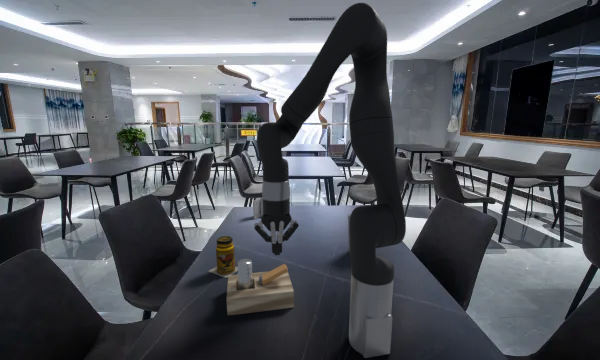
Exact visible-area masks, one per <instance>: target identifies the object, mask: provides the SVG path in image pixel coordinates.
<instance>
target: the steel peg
mask: <svg viewBox="0 0 600 360" xmlns="http://www.w3.org/2000/svg"><path fill="white" fill-rule="evenodd" d="M237 267H238V271H237V275H238V287H239V290H245V289H253V280H252V273H253V261H252V259H249V258H241V259H239V260H238V261H237Z"/></svg>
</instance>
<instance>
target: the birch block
mask: <svg viewBox="0 0 600 360" xmlns="http://www.w3.org/2000/svg"><path fill="white" fill-rule="evenodd" d="M270 271H271V270H269V271H259V272H252V280H253V289H245V290H239V287H238V274H232V275H228V277H227V288H226V289H227V290H226V312H227V313H226V315H227V316H228V317H229V316H233V315H234V316H235V315H243V314H251V313H258V312H259V313H261V312H267V311H274V310H282V309H283V310H284V309H290V308H295V303H294V302H295V299H294V298H295V297H294V296H295V292H294V287H293V284H292V281H291V277H290V274H289V271H288V272H287V273H285V274H283V275H281V276H279V277H277V278H275V279H274V280H272V281H270V282H268V283H266V284H264V285H260V282H259V277H260V276H261V275H264V274H266V273H268V272H270Z"/></svg>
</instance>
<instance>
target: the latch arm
mask: <svg viewBox="0 0 600 360" xmlns="http://www.w3.org/2000/svg"><path fill="white" fill-rule="evenodd" d="M269 271H270V272H268V271H267V272H268V273H266V274H264V275H261V276H260V277H259V282H260V285H264V284H266V283H268V282H270V281H272V280H274V279H275V278H277V277H279V276H281V275H283V274H285V273H287V272H288V273H289V269H288V266H287V265H286V263H283V264H281V265H279V266H277V267H275V268H274V269H271V270H269Z"/></svg>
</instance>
